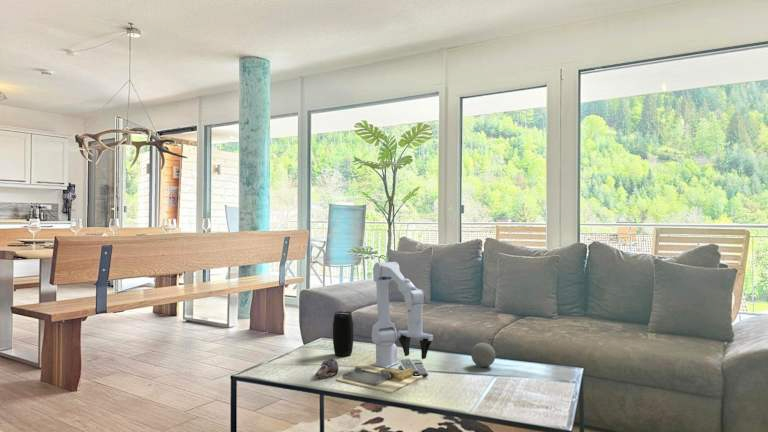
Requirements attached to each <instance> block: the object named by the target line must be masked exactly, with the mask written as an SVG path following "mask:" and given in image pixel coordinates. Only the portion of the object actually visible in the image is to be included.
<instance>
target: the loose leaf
mask: <svg viewBox="0 0 768 432" xmlns="http://www.w3.org/2000/svg"><path fill="white" fill-rule="evenodd" d="M384 371H385V372H390V373H391V376H392V379H397V380H402V381H403V380H405V379H407V378H409V377H411V376H413V374H414V367H413V366H412V367H408V368H406V369H404V370H403V369H399V368H393V367H388V368H385V369H382V370H381V371H378V372H377V373H381V374H382V372H384Z"/></svg>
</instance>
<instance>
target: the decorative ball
mask: <svg viewBox="0 0 768 432" xmlns="http://www.w3.org/2000/svg"><path fill="white" fill-rule="evenodd" d="M470 354H471V355H470V356H471V359H472V362H473V363H474V364H475V365H476V366H478V367H480V368H487V367H490V366H491V365H493V363H494V362H495V360H496V351H495V349H494V347H493V346H492V345H490V344H489V343H486V342H478V343H476V344H475V345H474V346H473V347H472V349H471V353H470Z"/></svg>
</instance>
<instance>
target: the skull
mask: <svg viewBox="0 0 768 432" xmlns="http://www.w3.org/2000/svg"><path fill="white" fill-rule="evenodd" d="M338 372H339V364H338V361H337V360H336V359H335V358H328V359H324V360H323V361H322V362H321V366H320V367H319V369H318V370H317V372H315V375H314V378H320V379H322V380H324V379H328V378H331V377H332V376H336V375H337V374H338Z"/></svg>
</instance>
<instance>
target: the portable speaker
mask: <svg viewBox="0 0 768 432" xmlns="http://www.w3.org/2000/svg"><path fill="white" fill-rule="evenodd" d="M352 315H353V314H352V311H348V310H347V311H341V310H339V311H335V312H334V314H333V320H332V321H333V322H332V342H333V343H332V345H333V352H334V356H335V357H338V356H343V357H346V358H347V357H350V356H352V353H353V349H354V348H353V347H354V321H353V316H352Z"/></svg>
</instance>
